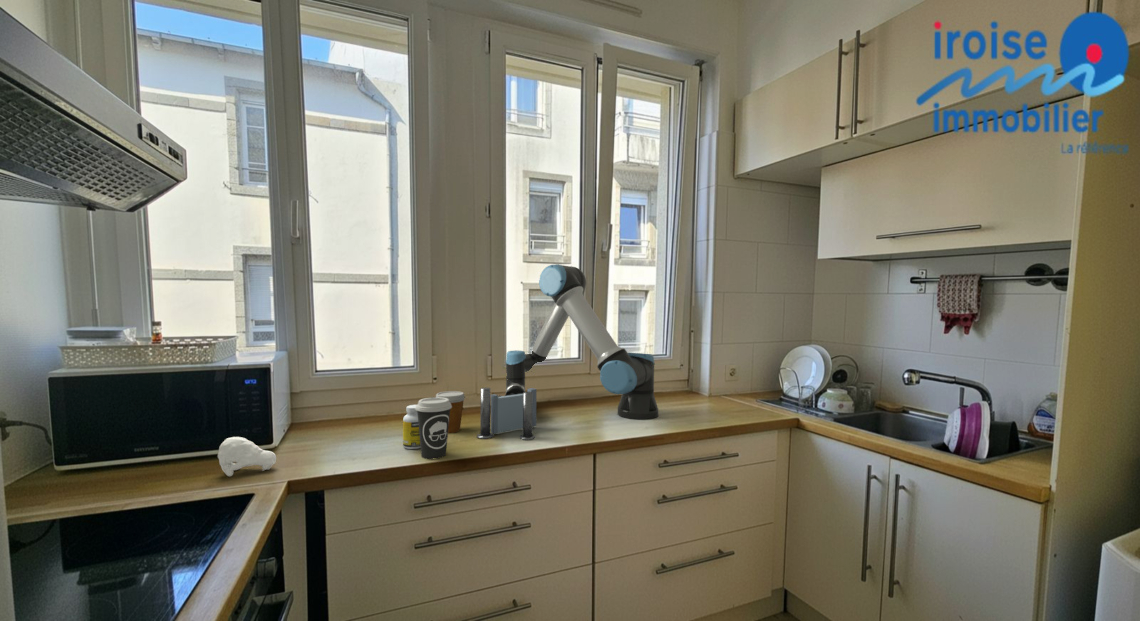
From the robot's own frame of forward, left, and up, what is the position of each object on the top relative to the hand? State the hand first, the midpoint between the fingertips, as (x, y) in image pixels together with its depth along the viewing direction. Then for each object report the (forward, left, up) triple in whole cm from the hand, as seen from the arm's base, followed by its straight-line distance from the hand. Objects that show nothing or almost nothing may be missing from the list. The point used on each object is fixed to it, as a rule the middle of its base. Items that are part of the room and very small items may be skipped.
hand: (515, 409), depth 154 cm
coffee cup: (+18, +27, -7) cm, 33 cm away
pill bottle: (+26, +20, -7) cm, 34 cm away
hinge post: (+8, +9, -6) cm, 14 cm away
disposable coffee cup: (+21, +3, -7) cm, 22 cm away
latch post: (-5, +10, -6) cm, 13 cm away
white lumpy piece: (+59, +42, -7) cm, 73 cm away
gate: (0, +3, -6) cm, 6 cm away
